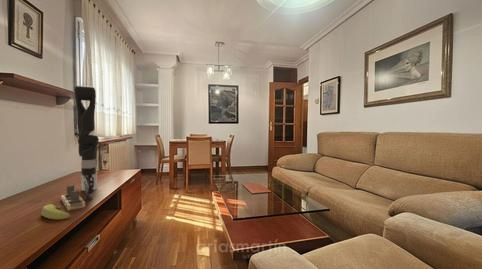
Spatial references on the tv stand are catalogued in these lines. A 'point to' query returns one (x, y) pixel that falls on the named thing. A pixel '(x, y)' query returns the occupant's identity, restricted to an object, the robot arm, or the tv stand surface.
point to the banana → (54, 212)
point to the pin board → (72, 199)
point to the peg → (88, 196)
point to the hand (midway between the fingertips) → (88, 192)
